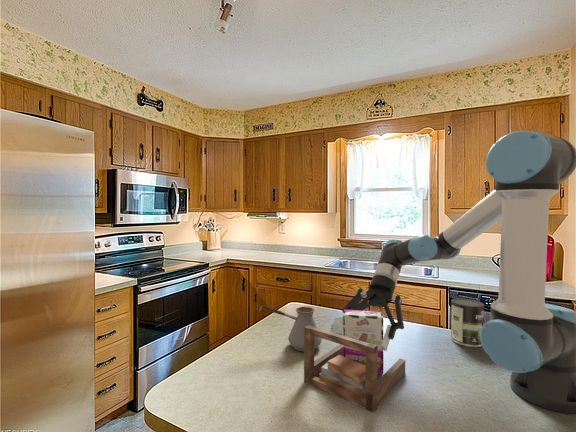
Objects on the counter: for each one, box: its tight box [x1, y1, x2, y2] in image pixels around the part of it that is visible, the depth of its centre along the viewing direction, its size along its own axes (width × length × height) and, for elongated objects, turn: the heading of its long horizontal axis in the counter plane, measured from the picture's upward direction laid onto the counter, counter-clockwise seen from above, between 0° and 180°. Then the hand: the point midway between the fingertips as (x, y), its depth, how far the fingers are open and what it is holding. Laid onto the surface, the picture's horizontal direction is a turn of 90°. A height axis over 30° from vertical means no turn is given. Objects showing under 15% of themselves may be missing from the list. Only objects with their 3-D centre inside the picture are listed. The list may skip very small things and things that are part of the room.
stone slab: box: [330, 316, 343, 335], centre depth 125 cm, size 22×3×10 cm
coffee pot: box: [259, 304, 323, 353], centre depth 106 cm, size 21×12×15 cm, turn 99°
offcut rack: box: [303, 325, 406, 413], centre depth 87 cm, size 20×22×15 cm
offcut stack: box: [318, 355, 366, 397], centre depth 83 cm, size 14×7×6 cm, turn 50°
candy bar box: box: [342, 310, 384, 375], centre depth 90 cm, size 11×5×16 cm, turn 77°
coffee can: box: [450, 298, 485, 348], centre depth 112 cm, size 10×10×14 cm
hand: (363, 342), depth 90 cm, fingers closed on candy bar box, 12 cm apart
